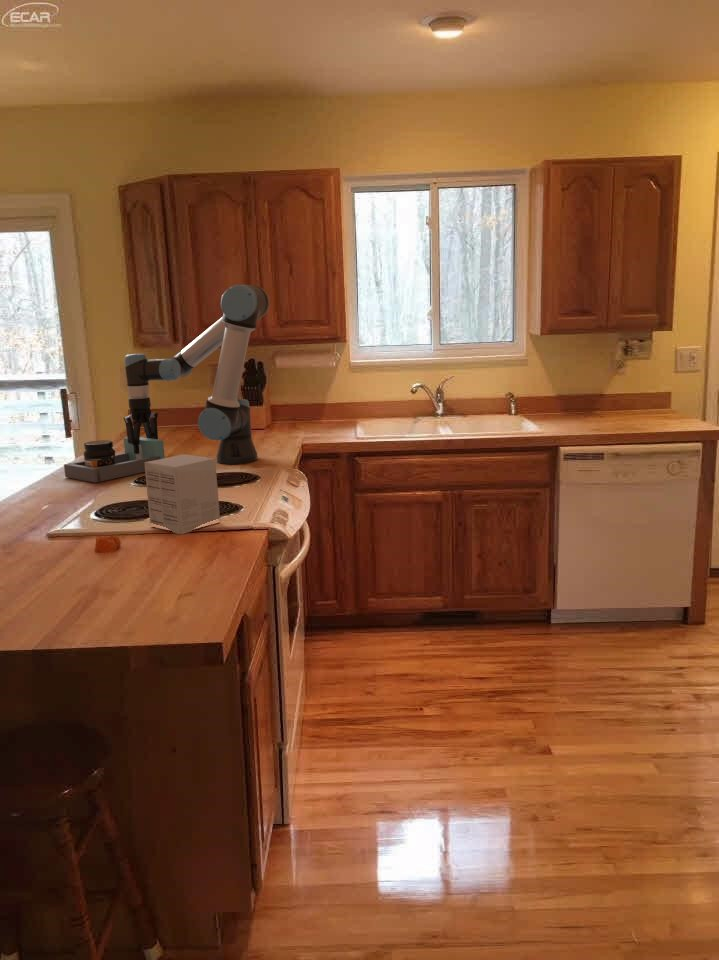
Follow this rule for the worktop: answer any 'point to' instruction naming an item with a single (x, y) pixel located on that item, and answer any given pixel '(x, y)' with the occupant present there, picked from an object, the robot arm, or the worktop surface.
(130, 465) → the gray open tray
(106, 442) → the supplement container
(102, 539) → the rock
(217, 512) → the supplement box
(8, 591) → the worktop surface
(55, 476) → the worktop surface
